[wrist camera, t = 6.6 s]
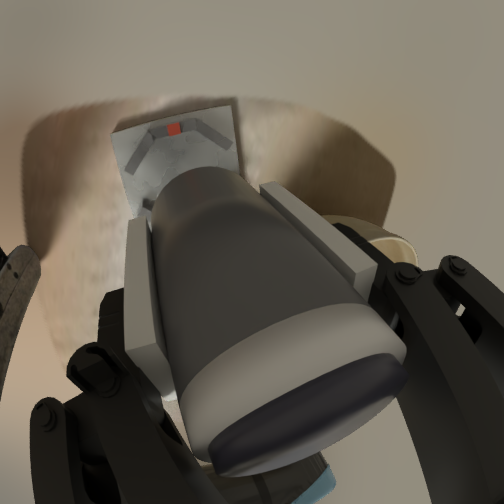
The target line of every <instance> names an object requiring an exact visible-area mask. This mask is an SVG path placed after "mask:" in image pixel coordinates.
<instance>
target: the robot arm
mask: <svg viewBox="0 0 504 504" xmlns="http://www.w3.org/2000/svg"><path fill="white" fill-rule="evenodd" d="M259 187H260V195H262V196H263V197H264V198H265V199H266V200H267V201H268V202H269V203H270V204H271V205H272V206H273V207H274V208H275V209H276V210H277V211H278V212H279V213H280V214H281V215H283V216H284V217H285V218H286V219H287V220H288V221H289V222H290V223H291V224H292V225H293V226H294V227H295V228H296V229H297V230H298V231H299V232H300V233H301V234H302V235H303V236H304V237H305V238H306V239H307V240H308V241H309V242H310V243H311V244H312V245H313V246H314V247H315V248H316V249H317V250H318V251H319V252H320V253H321V254H322V255H323V256H324V257H325V258H326V259H327V260H328V261H329V262H330V263H331V264H332V265H333V266H334V267H335V269H336V270H337V271H338V272H339V273H340V274H341V275H342V276H343V277H344V278H345V279H346V280H347V281H348V282H349V283H350V284H351V285H352V286H353V287H354V289H355V290H356V291H357V292H358V293H359V294H360V295H361V296H362V297H363V298H364V299H365V300H366V301H367V303H368V304H369V305H370V306H371V307H372V308H373V309H374V310H375V311H376V312H377V313H378V315H379V316H380V317H381V318H382V319H383V320H384V321H385V322H386V323H387V325H388V326H389V327H390V328H391V329H392V330H393V331H394V333H395V334H396V335H397V336H398V337H399V338H400V339H401V341H402V342H403V343H404V344H405V346H406V352H407V353H406V357H405V359H404V362H403V364H402V366H403V367H404V368H405V370H406V371H407V372H408V374H409V379H408V381H407V383H406V385H405V386H404V388H403V389H402V390H401V392H400V393H399V394H398V395H397V396H396V398H397V400H398V403H399V405H400V408H401V410H402V413H403V416H404V418H405V421H406V424H407V427H408V429H409V432H410V435H411V437H412V440H413V443H414V446H415V449H416V452H417V455H418V458H419V461H420V464H421V468H422V471H423V474H424V477H425V481H426V484H427V488H428V491H429V495H430V499H431V502H432V504H504V293H503V292H501V291H500V290H499V289H498V288H497V287H496V286H495V285H494V284H493V283H492V282H491V281H489V280H488V279H487V278H486V277H485V276H484V275H482V274H481V273H480V272H479V271H478V270H477V269H475V268H474V267H473V266H472V265H471V264H469V263H468V262H467V261H465V260H464V259H462V258H460V257H458V256H452V255H448V256H445V257H443V259H442V260H441V262H440V265H439V268H438V269H435V270H429V271H422V270H421V269H420V268H419V267H417V266H415V265H413V264H411V263H406V262H396V263H394V262H393V261H391V260H390V259H389V258H388V257H387V256H386V255H384V254H383V253H382V252H381V251H380V250H378V249H377V248H376V247H375V246H373V245H372V244H371V243H370V242H367V240H366V239H365V238H364V237H362V236H360V234H359V233H357V232H356V231H355V230H353V229H352V228H351V227H349V226H346V225H344V224H341V223H339V222H338V223H334V224H330V223H329V222H327V221H326V220H325V219H324V218H322V217H321V216H320V215H319V214H317V213H316V212H315V211H314V210H312V209H311V208H310V207H309V206H307V205H306V204H305V203H303V202H302V201H301V200H300V199H298V198H297V197H296V196H294V195H293V194H292V193H290V192H289V191H288V190H286V189H285V188H284V187H282V186H281V185H280V184H278V183H277V182H276V181H274V182H270V183H265V184H261V185H259ZM460 304H462V305H463V306H464V307H465V310H464V312H463V314H462V315H461V316H457V315H456V314H455V313H456V312H457V310H458V308H459V306H460ZM99 318H100V319H99V323H98V328H99V329H98V339H97V342H92V343H88V344H85V345H83V346H82V347H81V348H79V349H78V350H76V352H75V353H74V354H73V355H72V357H71V358H70V360H69V363H68V365H67V374H66V377H67V378H68V379H69V380H71V381H72V382H73V383H74V384H75V385H76V386H77V387H78V388H80V390H81V391H83V392H82V393H81V394H80V395H78V396H76V397H74V398H72V399H71V400H69V401H67V402H65V403H63V404H62V403H61V402H60V401H58V400H57V399H55V398H51V397H47V398H44V399H41V400H40V401H39V402H38V403H37V404H36V405H35V406H34V408H33V410H32V413H31V418H30V461H31V475H32V484H33V492H34V499H35V504H313V503H315V502H317V501H319V500H320V499H322V498H323V497H325V496H326V495H327V494H329V493H330V492H331V491H332V490H333V489H334V487H335V485H336V480H335V477H334V475H333V473H332V471H331V469H330V466H329V464H327V462H326V460H325V459H324V457H323V455H322V454H321V452H320V451H319V452H317V453H315V454H313V455H311V456H308V457H306V458H304V459H302V460H299V461H297V462H294V463H291V464H289V465H286V466H283V467H280V468H277V469H274V470H270V471H266V472H263V473H258V474H254V475H248V476H241V477H221V476H218V475H217V474H216V473H215V470H214V467H213V465H212V464H209V465H203V466H200V465H199V463H198V462H197V460H196V459H195V457H194V455H193V454H192V452H191V451H190V449H189V448H188V446H187V444H186V443H185V441H184V440H183V438H182V436H181V435H180V433H179V431H178V429H177V428H176V426H175V424H174V422H173V421H172V419H171V417H170V415H169V414H168V413H167V412H166V410H165V409H164V408H163V404H162V399H161V396H162V397H163V398H164V399H165V400H166V401H171V400H175V399H177V395H176V391H175V387H174V382H173V378H172V373H171V368H170V364H169V359H168V354H167V348H166V343H165V337H164V331H163V325H162V319H161V313H160V306H159V299H158V291H157V283H156V275H155V265H154V255H153V244H152V233H151V230H150V227H149V224H148V221H147V218H146V215H144V216H141V217H138V218H135V219H132V220H129V222H128V232H127V243H126V257H125V277H124V288H121V289H117V290H114V291H111V292H107V293H106V294H105V296H104V298H103V300H102V302H101V304H100V311H99Z"/></svg>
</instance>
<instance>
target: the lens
mask: <svg viewBox="0 0 504 504" xmlns="http://www.w3.org/2000/svg"><path fill="white" fill-rule="evenodd" d="M151 231H152V244H153V255H154V265H155V275H156V283H157V291H158V299H159V306H160V313H161V319H162V325H163V331H164V337H165V343H166V348H167V354H168V359H169V364H170V368H171V373H172V378H173V382H174V387H175V391H176V395H177V399H178V403H179V407H180V411H181V415H182V419H183V423H184V426H185V429H186V433H187V436H188V440H189V443H190V447H191V450H192V453H193V455H194V456H195V457H196V458H197V459H199V460H201V461H204V462H208V463H212V465H213V467H214V470H215V473H216V474H217V475H218V476H221V477H241V476H248V475H254V474H258V473H263V472H266V471H270V470H274V469H277V468H280V467H283V466H286V465H289V464H291V463H294V462H297V461H299V460H302V459H304V458H306V457H308V456H311V455H313V454H315V453H317V452H319V451H321V450H323V449H325V448H327V447H329V446H331V445H332V444H334V443H336V442H338V441H340V440H341V439H343V438H344V437H346V436H348V435H349V434H351V433H352V432H354V431H355V430H357V429H358V428H360V427H361V426H363V425H364V424H365V423H367V422H368V421H369V420H371V419H372V418H373V417H374V416H376V415H377V414H378V413H379V412H381V410H383V409H384V408H385V407H386V406H387V405H388V404H389V403H390V402H391V401H392V400H393V399H394V398H395V397H396V396H397V395H398V394H399V393H400V392H401V390H402V389H403V388H404V386H405V385H406V383H407V381H408V379H409V374H408V372H407V371H406V370H405V368H404V367H403V366H402V364H403V362H404V359H405V357H406V353H407V352H406V346H405V344H404V343H403V342H402V341H401V339H400V338H399V337H398V336H397V335H396V334H395V333H394V331H393V330H392V329H391V328H390V327H389V326H388V325H387V323H386V322H385V321H384V320H383V319H382V318H381V317H380V316H379V315H378V313H377V312H376V311H375V310H374V309H373V308H372V307H371V306H370V305H369V304H368V303H367V301H366V300H365V299H364V298H363V297H362V296H361V295H360V294H359V293H358V292H357V291H356V290H355V289H354V287H353V286H352V285H351V284H350V283H349V282H348V281H347V280H346V279H345V278H344V277H343V276H342V275H341V274H340V273H339V272H338V271H337V270H336V269H335V267H334V266H333V265H332V264H331V263H330V262H329V261H328V260H327V259H326V258H325V257H324V256H323V255H322V254H321V253H320V252H319V251H318V250H317V249H316V248H315V247H314V246H313V245H312V244H311V243H310V242H309V241H308V240H307V239H306V238H305V237H304V236H303V235H302V234H301V233H300V232H299V231H298V230H297V229H296V228H295V227H294V226H293V225H292V224H291V223H290V222H289V221H288V220H287V219H286V218H285V217H284V216H283V215H281V214H280V213H279V212H278V211H277V210H276V209H275V208H274V207H273V206H272V205H271V204H270V203H269V202H268V201H267V200H266V199H265V198H264V197H263V196H262V195H260V194H259V193H258V192H257V191H256V190H255V189H254V188H253V187H252V186H251V185H250V184H249V183H248V182H246V181H245V180H244V179H243V178H242V177H241V176H239V175H238V174H236V173H234V172H233V171H230V170H228V169H225V168H221V167H213V166H206V167H198V168H194V169H191V170H188V171H186V172H184V173H181V174H180V175H178V176H176V177H175V178H174V179H172V180H171V181H170V182H169V183H168V184H167V185H166V186H165V187H164V188H163V189H162V191H161V192H160V193H159V195H158V197H157V199H156V201H155V203H154V206H153V209H152V214H151Z"/></svg>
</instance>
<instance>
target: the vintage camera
mask: <svg viewBox="0 0 504 504" xmlns="http://www.w3.org/2000/svg"><path fill="white" fill-rule="evenodd" d="M40 276H41V266H40V262H39V259H38V256H37V255H36V253H35V252H34V251H33V250H32V249H31V248H30V247H29V246H25V245H20V246H18V247H16V248H15V249H14V250H13V251H12V252H11V253H10V254H9V255H8V256H6V254H5V253H4V252H3V250H2V249H1V247H0V400H1V395H2V390H3V385H4V381H5V377H6V373H7V369H8V365H9V362H10V358H11V354H12V351H13V348H14V344H15V341H16V338H17V335H18V332H19V329H20V326H21V323H22V320H23V318H24V315H25V312H26V310H27V307H28V304H29V302H30V299H31V297H32V295H33V293H34V291H35V288H36V286H37V283H38V281H39V278H40Z"/></svg>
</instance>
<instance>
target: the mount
mask: <svg viewBox="0 0 504 504" xmlns="http://www.w3.org/2000/svg"><path fill="white" fill-rule="evenodd" d="M110 136H111V140H112V144H113V148H114V152H115V156H116V160H117V164H118V167H119V171H120V175H121V178H122V182H123V185H124V188H125V192H126V195H127V198H128V201H129V205H130V208H131V211H132V214H133V217H134V219H135V218H138V217H141V216H144V215H146V218H147V221H148V224H149V227H150V230H151V214H152V209H153V206H154V203H155V201H156V199H157V197H158V195H159V193H160V192H161V191H162V189H163V188H164V187H165V186H166V185H167V184H168V183H169V182H170V181H171V180H172V179H174V178H175V177H176V176H178V175H180V174H181V173H184V172H186V171H188V170H191V169H194V168H198V167H206V166H213V167H221V168H225V169H228V170H230V171H233V172H234V173H236V174H238V175H239V176H240V170H239V162H238V155H237V147H236V140H235V132H234V124H233V117H232V109H231V105H224V106H218V107H212V108H207V109H202V110H197V111H192V112H187V113H182V114H178V115H174V116H169V117H165V118H161V119H157V120H154V121H150V122H146V123H143V124H139V125H136V126H133V127H129V128H126V129H123V130H120V131H117V132H114V133H111V134H110ZM151 233H152V231H151Z"/></svg>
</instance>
